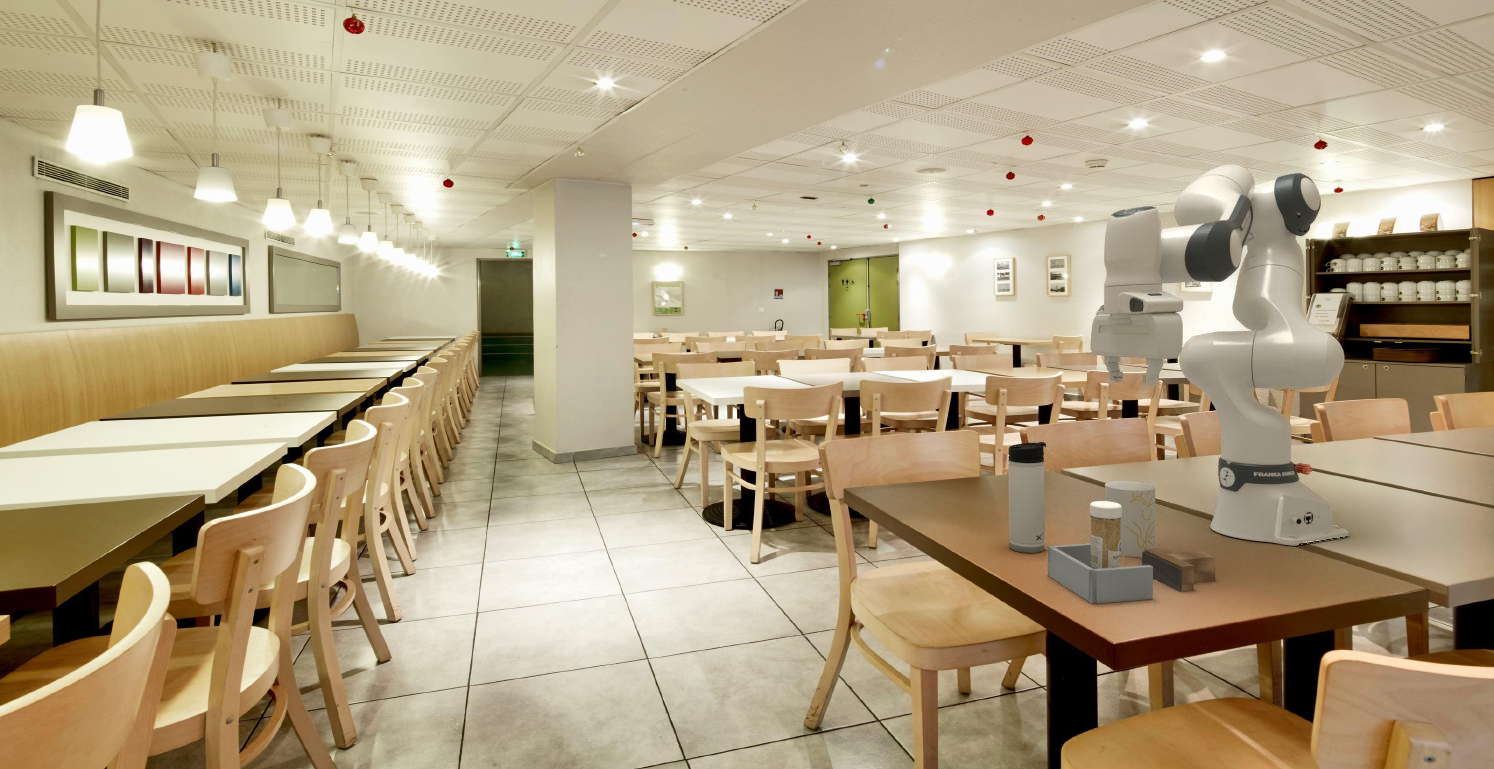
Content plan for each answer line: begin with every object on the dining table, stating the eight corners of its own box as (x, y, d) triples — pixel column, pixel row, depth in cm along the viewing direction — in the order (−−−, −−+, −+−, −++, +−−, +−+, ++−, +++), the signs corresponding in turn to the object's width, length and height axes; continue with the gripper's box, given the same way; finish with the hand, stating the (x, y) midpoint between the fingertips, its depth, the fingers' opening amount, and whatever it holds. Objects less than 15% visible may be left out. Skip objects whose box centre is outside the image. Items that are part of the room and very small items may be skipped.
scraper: (1188, 569, 124) (1188, 545, 124) (1229, 587, 115) (1229, 562, 115) (1142, 572, 123) (1142, 549, 123) (1179, 591, 114) (1179, 566, 114)
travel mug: (1049, 553, 134) (1049, 445, 133) (1011, 552, 136) (1010, 445, 134) (1043, 543, 140) (1042, 439, 139) (1006, 542, 142) (1005, 439, 140)
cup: (1135, 559, 129) (1136, 492, 128) (1095, 548, 137) (1095, 484, 136) (1164, 551, 133) (1165, 486, 132) (1123, 541, 140) (1123, 478, 139)
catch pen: (1103, 571, 124) (1103, 542, 124) (1152, 598, 112) (1153, 566, 111) (1047, 575, 123) (1047, 546, 123) (1091, 603, 111) (1091, 571, 110)
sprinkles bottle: (1124, 592, 115) (1124, 507, 113) (1092, 590, 116) (1092, 506, 115) (1118, 582, 119) (1118, 500, 118) (1087, 580, 120) (1087, 499, 119)
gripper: (1081, 305, 136) (1081, 380, 137) (1153, 301, 116) (1153, 389, 117) (1113, 304, 137) (1113, 378, 138) (1191, 300, 116) (1190, 387, 117)
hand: (1132, 383), depth 127 cm, fingers open, 8 cm apart
